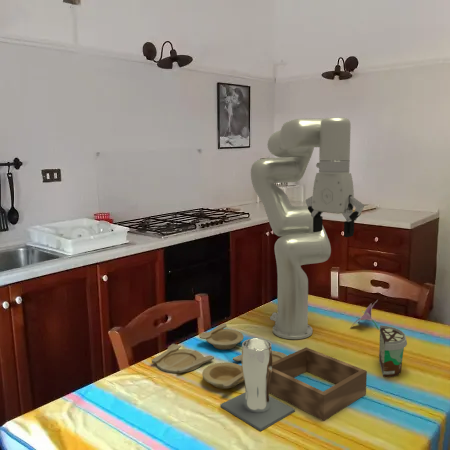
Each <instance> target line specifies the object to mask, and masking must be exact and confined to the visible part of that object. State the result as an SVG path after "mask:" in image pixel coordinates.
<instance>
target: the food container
mask: <svg viewBox="0 0 450 450" xmlns="http://www.w3.org/2000/svg"><path fill="white" fill-rule="evenodd" d="M407 345H408V342H407V336H406V334H405V333H404V332H403V331H402V330H401V329H399V328H396V327H394V326H393V327H392V326H388V325H379V350H378V352H379V353H378V361H379V365H380V371H381V374H382V377H383V378H391V377H393V378H394V377H397V376H399V375H400V374H401V371H402V365H403V357H404V349H405V348H406V347H407Z"/></svg>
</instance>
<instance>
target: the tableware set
mask: <svg viewBox="0 0 450 450" xmlns="http://www.w3.org/2000/svg"><path fill="white" fill-rule="evenodd" d="M198 336H199V339H203V340H205V341H206V342H207V343H209V344H211V345H213V348H215V349H218V350H225V351H226V350H231V349H234V348H235V347H236V346H237V344H239V343H241V342H243V341H244V337H245V336H244V334H243V333H242V332H241V331H240V330H236V329H232V328H227V324H226V323H221V324H220V325H218V326H217V327H215V328H213V329H212V330H209V331H206V332H202V333H200V334H199V335H198ZM181 347H182V345H181V344H175V343H171V345H169V346H168V347H167V349H166V351H164V352H162V353H161V354H159V355H157V356H156V357H154V358H152V359H151V364H156V367H157V368H158V369H159V370H161V371H162V372H166V373H173V374H177V373H178V374H182V373H188V372H192V371H195V370H197V369H199V368H200V367H202V365H203V364H205V363H209V362H211V361H213V360H215V357H214V356H213V355H206V356H204V355H203V354H202V353H201V352H199V351H197V350H193V349H189V348H188V349H187V348H181ZM290 354H291V353H289V354H288V355H290ZM288 355H287V354H286V353H284V352H280V351H275V350H272V363H273V362H275V361H277V360H279V359H281V358H284V357H286V356H288ZM241 360H242V353H241V354H239V355H237V356H234V357H232V361H234V362H241ZM234 362H228V361H227V362H225V361H224V362H216V363H212V364H210V365H208V366H206V367H205V368H204V369H203V371H202V374H201V375H202V379H203V380H204V381H205V382H207V383H208V384H211V385H212V386H213V387H215V388H217V389H224V390H226V389H232V388H235V387H237V386H238V385H239V384H241V383H244V378H243V373H242V364H237V363H234Z"/></svg>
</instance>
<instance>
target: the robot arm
mask: <svg viewBox="0 0 450 450" xmlns="http://www.w3.org/2000/svg"><path fill="white" fill-rule="evenodd" d="M351 129H352V127H351V120H350V119H349V118H347V117H326V118H295V119H292V120H289V121H286V122H284V123H283V124H282V126H281V129H280V130H278V131H276V132H274V133H273V134H271V135H270V137H269V138H268V140H267V145H266V146H267V149H268V151H269V153H270V154H271V155H273V156H274V157H265V158H261V159H257V160H256V161H254V162H253V164H252V165H251V168H250V180H251V184H252V187H253V189H254V191H255V193H256V195H257V197H258V198H259V200H260V201H261V203H262V205H263V208H264V210H265V214H266V217H267V219H268V223H269V225H270V228H271V230H272V232H273V234H274V235H276V236H277V237H279V238H278V239H277V240H276V241H275V243H274V248H273V249H274V255H275V261H276V262H275V263H276V273H277V312H275V311H274V312H272V315H270V316H269V319H270V321H273V322H275V323H274V325H273V326H272V332H273V334H274V335H275V336H277V337H279V338H282V339H286V340H287V339H288V340H303V339H307V338H308V337H310V336H312V334H313V327H312V326H311V325H310V324H308V322H309V321H308V320H309V315H308V314H309V311H308V310H309V278H308V276H307V273H306V272H305V270H303V268H302V267H301V266H303V265H304V266H305V265H310V264H311V265H312V264H319V263H324V262H326V261H328V260H329V259H330V258H331V253H332V248H331V247H332V246H331V243H330V239H329V238H328V234H327V232H326V229H325V228H324V225H323V223H324V221H323V220H324V219H323V216H322V214H323V213H328V214H337V215H338V214H340V215H341V214H342V215H343V217H344V219H345V220H346V221H344V223H343V237H344V238H350V237H353V236H354V232H355V221H357V219H358V217H361V214H362V211H363V210H364V208H365V204H364V203H362V202H361V201H360V200H358V199H357V198H355V193H354V181H353V176H352V173H350V166H351V165H350V163H351V162H350V159H351V158H350V157H351ZM314 148H319V150H318V152H319V153H318V155H319V157H318V160H319V161H318V162H316V164H315V167H316V168H318V172H316V174H315V177H314V181H313V188H312V196H310V197H308V198H306V199H305V204H306V205H300V206H299V205H297V206H296V205H292V204H291V203H290V199H289V197H288V194H286V191H284V190H283V189H282V188H280V187H279V186H278V185H276V184H282V183H283V184H285V183H287V184H288V183H296V182H300V180H302V179H303V177H304V176H305V172H306V170H307V167H308V165H309V163H310V161H311V158H312V156H313V152H314ZM354 207H355V209H354ZM353 210H354V211H353Z"/></svg>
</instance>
